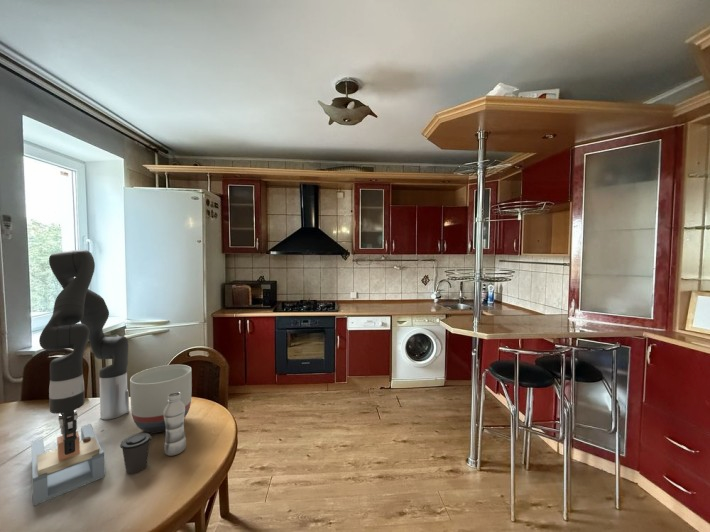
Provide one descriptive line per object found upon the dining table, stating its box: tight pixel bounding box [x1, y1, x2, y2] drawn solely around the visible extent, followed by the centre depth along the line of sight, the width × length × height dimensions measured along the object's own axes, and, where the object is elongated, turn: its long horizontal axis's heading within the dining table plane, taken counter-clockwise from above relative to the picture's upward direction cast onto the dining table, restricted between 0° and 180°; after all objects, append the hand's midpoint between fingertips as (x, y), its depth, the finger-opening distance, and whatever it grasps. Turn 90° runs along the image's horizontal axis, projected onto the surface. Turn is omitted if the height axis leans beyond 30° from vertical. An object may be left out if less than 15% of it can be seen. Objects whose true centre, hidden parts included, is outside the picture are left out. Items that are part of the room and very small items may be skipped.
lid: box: [37, 437, 100, 476], centre depth 91 cm, size 13×10×3 cm
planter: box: [129, 364, 193, 434], centre depth 120 cm, size 20×20×21 cm
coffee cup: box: [119, 432, 152, 476], centre depth 97 cm, size 8×8×10 cm
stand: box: [30, 423, 106, 506], centre depth 97 cm, size 15×27×7 cm, turn 47°
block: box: [56, 430, 81, 461], centre depth 91 cm, size 4×4×5 cm
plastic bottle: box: [163, 392, 187, 457], centre depth 105 cm, size 6×7×20 cm
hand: (68, 448), depth 91 cm, fingers open, 6 cm apart
